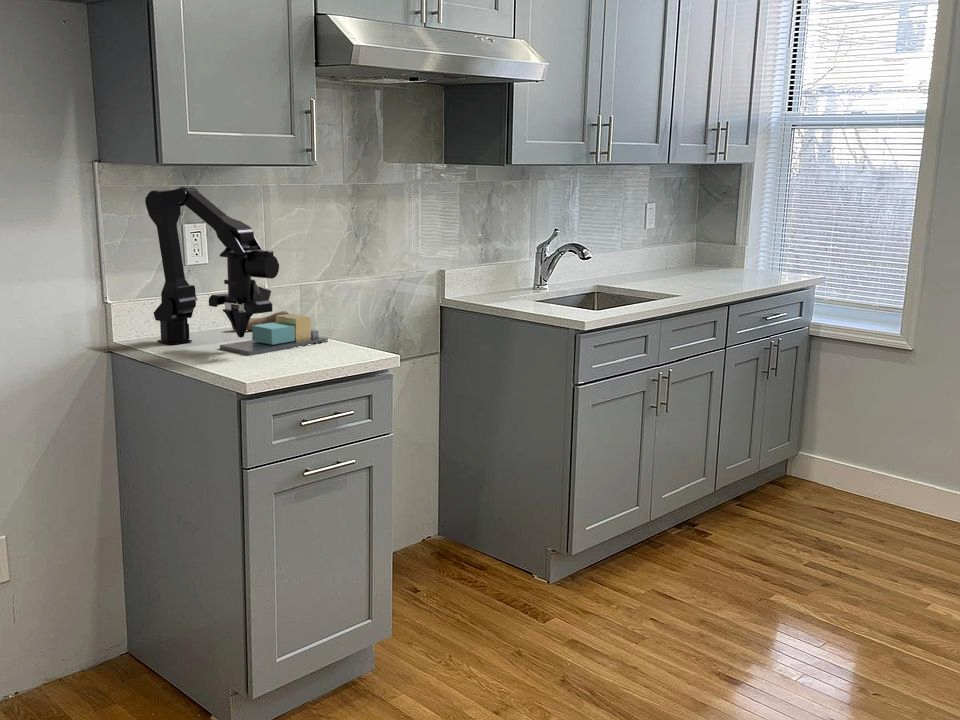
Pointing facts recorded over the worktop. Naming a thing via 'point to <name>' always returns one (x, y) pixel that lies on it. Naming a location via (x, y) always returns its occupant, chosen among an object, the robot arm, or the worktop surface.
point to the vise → (269, 345)
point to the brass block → (297, 325)
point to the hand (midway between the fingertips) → (241, 337)
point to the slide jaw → (273, 333)
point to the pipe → (263, 320)
